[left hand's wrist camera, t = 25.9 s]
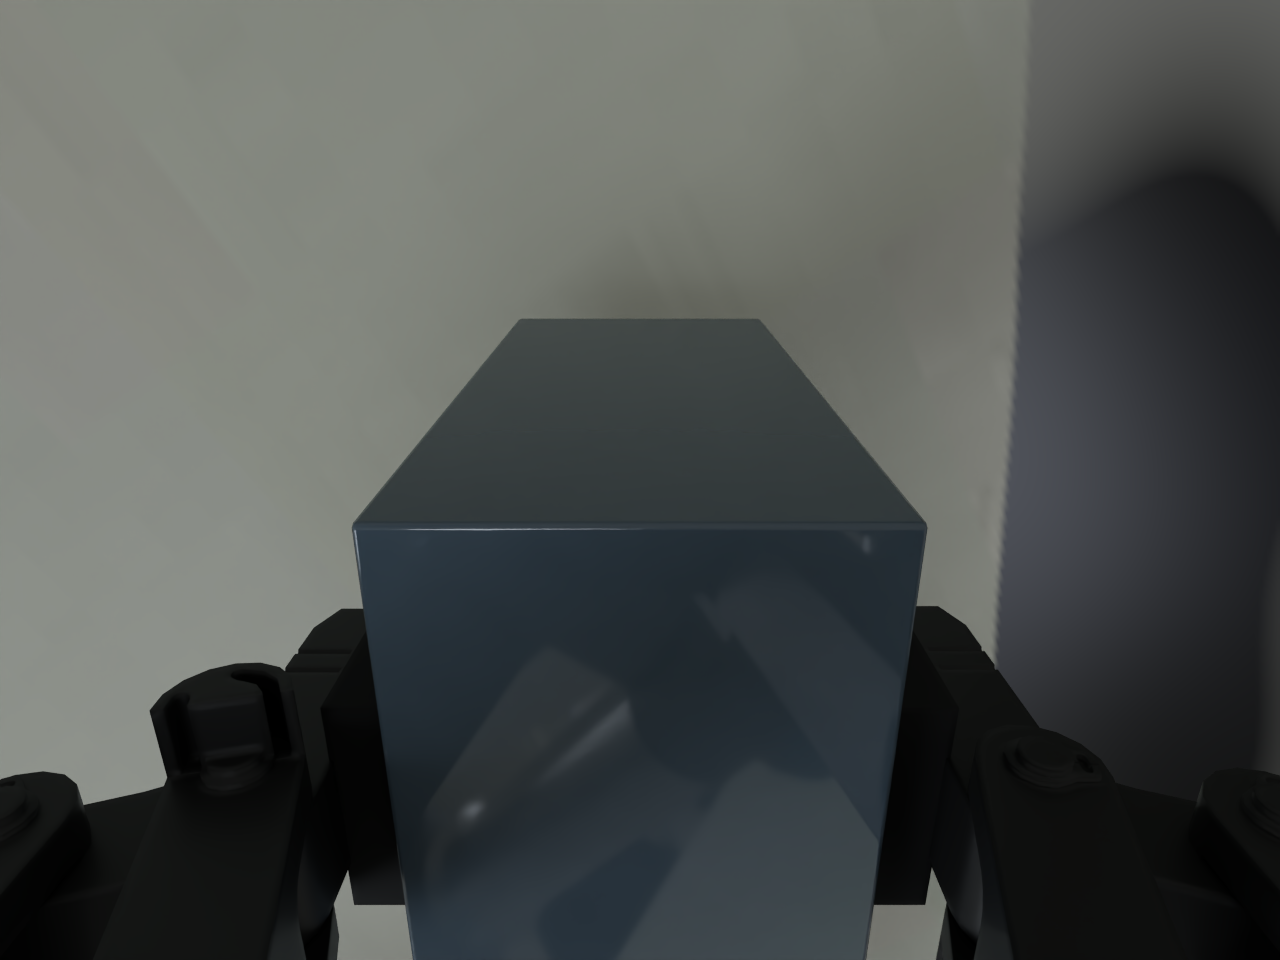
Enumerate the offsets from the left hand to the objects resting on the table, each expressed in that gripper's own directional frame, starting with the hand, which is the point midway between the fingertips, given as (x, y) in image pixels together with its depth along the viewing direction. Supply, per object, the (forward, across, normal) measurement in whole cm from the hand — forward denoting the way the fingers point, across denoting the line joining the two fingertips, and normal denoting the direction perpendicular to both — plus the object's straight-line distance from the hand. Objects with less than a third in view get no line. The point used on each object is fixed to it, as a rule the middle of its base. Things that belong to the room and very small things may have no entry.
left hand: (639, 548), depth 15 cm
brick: (+3, 0, 0) cm, 3 cm away
